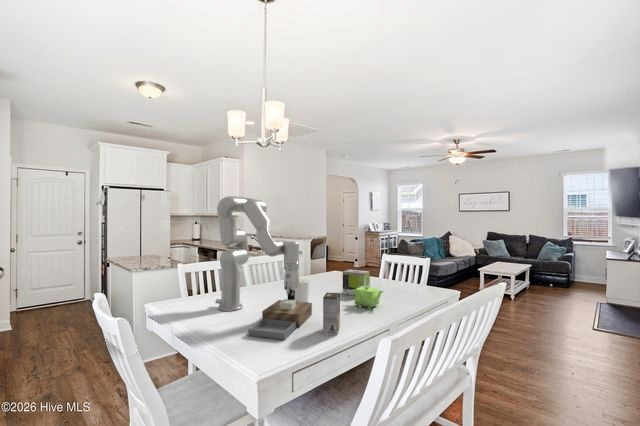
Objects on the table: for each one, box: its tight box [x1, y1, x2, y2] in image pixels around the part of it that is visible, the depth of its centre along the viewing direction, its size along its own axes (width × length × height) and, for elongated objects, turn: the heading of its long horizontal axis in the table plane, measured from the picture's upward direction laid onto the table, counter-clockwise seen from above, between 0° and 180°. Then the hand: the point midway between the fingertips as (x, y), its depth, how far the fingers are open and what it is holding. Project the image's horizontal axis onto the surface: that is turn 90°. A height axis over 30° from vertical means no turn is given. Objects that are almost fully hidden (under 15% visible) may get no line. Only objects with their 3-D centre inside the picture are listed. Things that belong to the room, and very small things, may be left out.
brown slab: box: [261, 299, 313, 329], centre depth 160 cm, size 18×20×6 cm
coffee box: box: [322, 292, 341, 336], centre depth 144 cm, size 9×6×16 cm
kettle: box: [351, 286, 385, 309], centre depth 183 cm, size 15×14×11 cm
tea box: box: [342, 269, 371, 296], centre depth 210 cm, size 15×10×15 cm, turn 58°
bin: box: [247, 318, 297, 341], centre depth 142 cm, size 16×14×3 cm
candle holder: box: [295, 278, 311, 303], centre depth 192 cm, size 10×10×12 cm
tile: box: [280, 298, 296, 310], centre depth 158 cm, size 6×6×3 cm
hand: (291, 303), depth 163 cm, fingers closed
